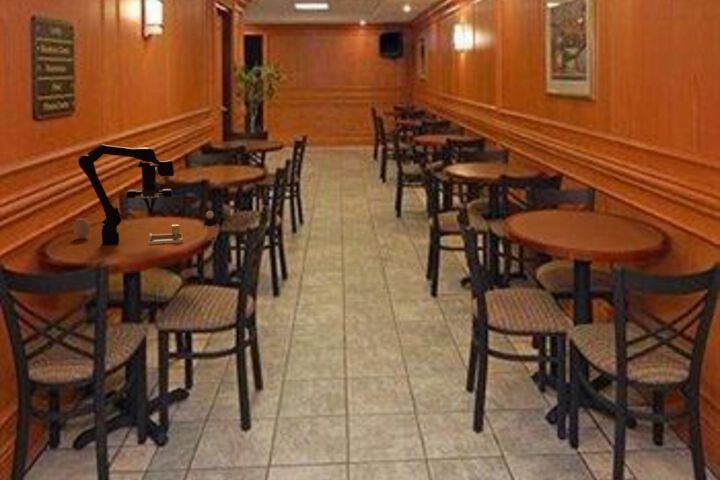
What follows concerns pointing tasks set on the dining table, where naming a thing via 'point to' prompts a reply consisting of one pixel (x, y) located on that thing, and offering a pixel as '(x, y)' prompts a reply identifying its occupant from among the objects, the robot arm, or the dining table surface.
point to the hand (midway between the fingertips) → (150, 213)
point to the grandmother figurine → (210, 226)
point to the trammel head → (175, 230)
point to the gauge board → (165, 238)
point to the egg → (81, 228)
